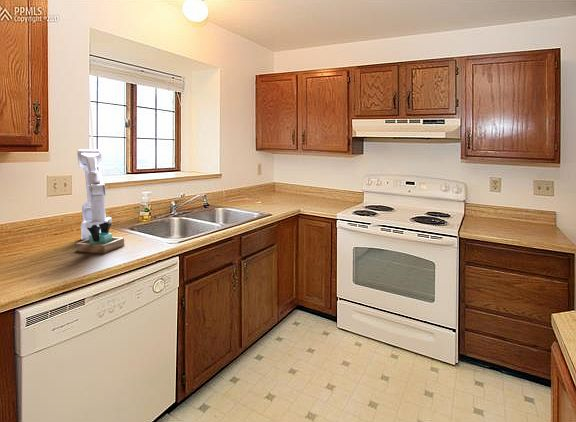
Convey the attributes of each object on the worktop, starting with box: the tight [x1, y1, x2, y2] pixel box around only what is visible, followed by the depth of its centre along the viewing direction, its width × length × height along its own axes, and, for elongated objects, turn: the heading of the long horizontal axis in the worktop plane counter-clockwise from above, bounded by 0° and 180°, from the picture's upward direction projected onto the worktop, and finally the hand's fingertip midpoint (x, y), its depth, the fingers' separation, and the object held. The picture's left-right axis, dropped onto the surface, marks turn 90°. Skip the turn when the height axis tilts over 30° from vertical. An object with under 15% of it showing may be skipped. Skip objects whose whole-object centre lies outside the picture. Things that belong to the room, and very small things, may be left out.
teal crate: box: [89, 232, 113, 245], centre depth 174 cm, size 8×5×4 cm, turn 78°
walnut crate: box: [75, 236, 125, 254], centre depth 174 cm, size 14×14×4 cm
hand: (100, 239), depth 174 cm, fingers closed on teal crate, 5 cm apart
